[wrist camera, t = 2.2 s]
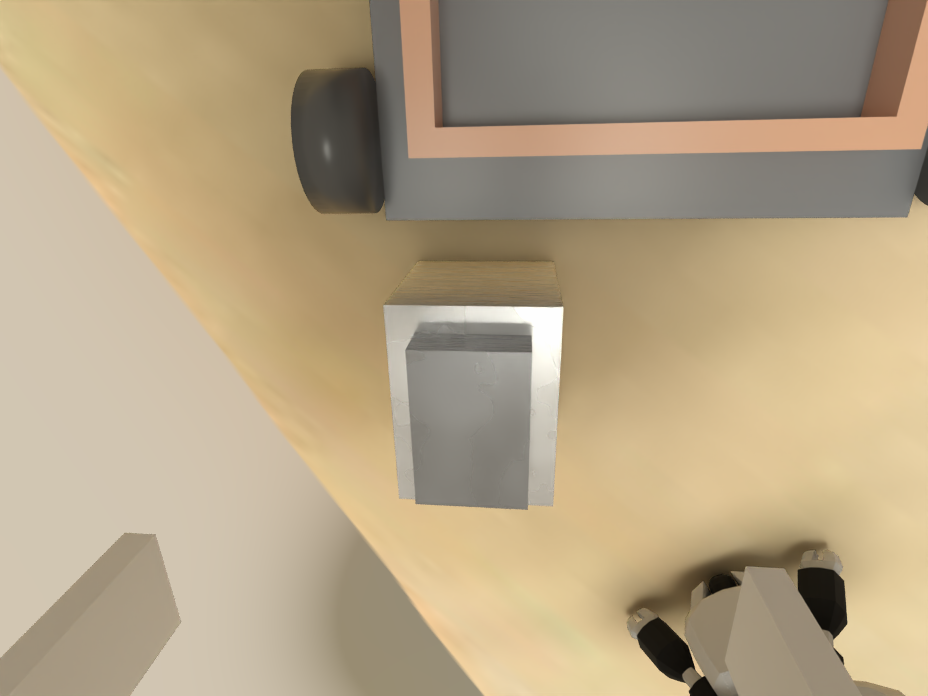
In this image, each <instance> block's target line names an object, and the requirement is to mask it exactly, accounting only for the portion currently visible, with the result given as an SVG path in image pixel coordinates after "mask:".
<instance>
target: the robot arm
mask: <svg viewBox="0 0 928 696" xmlns="http://www.w3.org/2000/svg"><path fill="white" fill-rule="evenodd" d="M180 623H181V620H180V616H179V613H178V610H177V607H176V603H175V599H174V596H173V593H172V589H171V586H170V582H169V579H168V576H167V572H166V569H165V565H164V562H163V558H162V555H161V552H160V548H159V545H158V542H157V538H156V535H155V534H137V533H124V534H123V535H122V536H121V537H120V538H119V539H118V540H117V541H116V542H115V543H114V544H113V545H112V546H111V547H110V548H109V549H108V550H107V551H106V552H105V553H104V554H103V555H102V556H101V557H100V558H99V559H98V560H97V561H96V562H95V563H94V564H93V565H92V567H90V569H88V570H87V571H86V572H85V573H84V574H83V575H82V576H81V577H80V578H79V579H78V580H77V581H76V583H74V584H73V585H72V587H71V588H70V589H69V590H68V591H67V592H66V593H65V594H64V595H63V596H62V597H61V598H60V599H59V600H58V601H57V602H56V603H55V604H54V605H53V606H52V607H51V608H50V609H49V610H48V611H47V612H46V613H45V614H44V615H43V616H42V617H41V618H40V619H39V620H38V621H37V622H36V623H35V624H34V625H33V626H32V627H31V628H30V629H29V630H28V631H27V632H26V633H25V634H24V635H23V636H22V637H21V638H20V639H19V640H18V641H17V642H16V643H15V644H14V645H13V646H12V647H11V648H10V649H9V650H8V651H7V652H6V653H5V654H4V655H3V656H2V657H1V658H0V696H130V695H131V693H132V692H133V691H134V689H135V688H136V686H137V685H138V683H139V682H140V680H141V679H142V678H143V676H144V675H145V673H146V672H147V670H148V669H149V667H150V666H151V664H152V663H153V662H154V660H155V659H156V657H157V656H158V655H159V653H160V652H161V650H162V649H163V647H164V646H165V645H166V643H167V642H168V640H169V639H170V637H171V636H172V635H173V633H174V632H175V630H176V628H177V627H178V626H179V624H180ZM725 663H726V665H727V668H728V670H729V673H730V676H731V678H732V681H733V683H734V686H735V688H736V691H737V693H738V696H862V694H861V693H860V691H859V690H858V688H857V686H856V685H855V683H854V681H853V680H852V678H851V676H850V675H849V673H848V672H847V670H846V668H845V667H844V665H843V663H842V662H841V660H840V658H839V657H838V655H837V654H836V652H835V650H834V649H833V647H832V645H831V644H830V642H829V641H828V639H827V637H826V636H825V634H824V632H823V631H822V629H821V627H820V626H819V624H818V623H817V621H816V619H815V618H814V616H813V614H812V613H811V611H810V609H809V608H808V606H807V605H806V603H805V601H804V600H803V598H802V596H801V595H800V593H799V591H798V590H797V588H796V587H795V585H794V583H793V582H792V580H791V578H790V577H789V575H788V573H787V572H786V570H785V569H784V568H767V567H749V566H746V567H745V572H744V576H743V581H742V585H741V590H740V594H739V599H738V603H737V608H736V612H735V616H734V621H733V625H732V630H731V634H730V639H729V643H728V648H727V652H726V657H725Z"/></svg>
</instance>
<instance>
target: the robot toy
mask: <svg viewBox="0 0 928 696" xmlns="http://www.w3.org/2000/svg"><path fill="white" fill-rule="evenodd" d="M822 551H823V560H818V554H817V553H816V550H808V551H805V552H804V553H803V556H802V559H801V562H800V566H799V567H800V568H801V569H799V570H798V591H799V593H800V595H801V596H802V598H803V600H804V601H805V603H806V605H807V606H808V608H809V609H810V611H811V613H812V614H813V616H814V618H815V619H816V621H817V623H818V624H819V626H820V627H821V629H822V631H823V632H824V634H825V636H826V637H827V639H828V641H829V642H830V644H831V645H832V647H833V640H834V639H835V638H836V637H837V636H838V635H839V634H840V632H841V631H842V630H843V629H844V627H845V626H846V625H847V612H846V598H845V586H844V580H843V579H842V578H841V577H840V576H839V575H840V573H841V571H842V568H843V566H842V563H841V561H840V558H839V556H838V555H836V554H835V553H834V552H832V551H830V550H822ZM730 572H731V573H732V575H733V577H734V579H735V580H736V582H737V584H738V585H739V586H737V585H736V583H735V581H734V580H733V579H732V577H731V576H728V575H724V574H721V575H717V576H715V577H713V578H712V579H711V580H710V582H709V587H710V591H711V592H710V591H709V589H708V588H707V586H706V584H705V583H704V581H702V582H701V583H700V584H699V585H698V586H697V587H696V588H695V589H694V590H693V591H692V594H691V608H690V612H689V614H688V615H687V617H686V619H685V637H686V640H687V642H688V644H689V646H690V648H691V651H692V653H693V655H694V657H695V659H696V661H697V663H698V665H699V666H700V668H701V670H702V672H703V674H704V675H705V676H704V677H701V676H700V675H699V674H698V673H697V672H696V670H695V666H694V663H693V660H692V657H691V654H690V650H689V647H688V645H687V644H686V643H685V642H684V641H683V640H682V639H681V638H680V637H679V636H678V635H677V634H676V633H675V632H674V631H673V630H672V629H671V628H670V627H669V626H668V625H667V624H666V623H665V622H664V621H663V620H661V619H660V618H659V617H658V615H657V614H655V613H654V612H652V611H651V610H649V609H647V608H642V609H639V610H638V611H637V613H638V615H639V617H640V618H642V620H641V621H640V622H639V623H637V622H636V620H635V619H634V618H633V615H632V616H631V617H630V618H629V619H628V621H627V628H628V630H629V632H630V634H631V636H632V637H633V638H635V639H637V640H638V642H639V645H640V648H641V649H642V650H643V651H644V652H645V654H646V655H647V656H648V657H649V658H650V660H651V661H652V662H653V663H654V664H655V666H656V667H657V668H658V669H659V670H660V671H661V672H662V673H664V674H665V675H666V676H667V677H669V678H671V679H674V680H677V681H680V682H684V683H686V684H687V685H688V686H689V687H690V688H691V689H690V690H689V693H690V696H738V693H737V691H736V688H735V686H734V683H733V681H732V678H731V676H730V673H729V670H728V668H727V665H726V663H725V657H726V652H727V648H728V643H729V639H730V634H731V630H732V625H733V621H734V616H735V612H736V608H737V603H738V599H739V594H740V590H741V585H742V581H743V576H744V572H737V571H730ZM711 593H712V594H711ZM833 649H834V650H835V652H836V654H837V655H838V657H839V658H840V660H841V662H842V663H843V665H844V660H843V657H842V656H841V655H840V654H839V653H838V652H837V650H836V649H835V648H834V647H833ZM854 683H855V685H856V686H857V688H858V690H859V691H860V693H861V694H862V696H905V695H904V694H902V693H901V692H900V691H898V690H894V689H891V688H887V687H883V686H880V685H876V684H872V683H869V682H864V681H854Z"/></svg>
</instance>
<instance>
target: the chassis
mask: <svg viewBox="0 0 928 696" xmlns="http://www.w3.org/2000/svg"><path fill="white" fill-rule="evenodd" d="M369 2H370V15H371V28H372V41H373V54H374V67H375V80H376V82H375V80H374V78H373V76H372V74H371V73H370V71H369V70H368V69H366V68H341V69H313V70H305V71H303V72H302V73H301V74H300V76H299V77H298V79H297V82H296V84H295V88H294V92H293V97H292V106H291V132H292V143H293V151H294V157H295V162H296V167H297V171H298V174H299V178H300V181H301V184H302V187H303V189H304V192H305V194H306V196H307V198H308V200H309V201H310V203H311V205H312V206H313V207H314V208H315V209H316V210H317V211H318V212H320V213H323V214H354V213H377V212H379V211H380V209H381V207H382V205H383V202H384V199H385V211H386V220H532V219H702V218H872V217H908V213H909V210H910V206H911V203H912V199H913V196H914V194H915V195H916V196H917V198H918V199H919V200H920V201H922V202H923V203H924V204H926V205H928V0H369Z"/></svg>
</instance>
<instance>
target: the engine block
mask: <svg viewBox="0 0 928 696" xmlns="http://www.w3.org/2000/svg"><path fill="white" fill-rule="evenodd" d="M383 308H384V320H385V332H386V344H387V356H388V368H389V380H390V392H391V404H392V416H393V428H394V440H395V452H396V464H397V476H398V488H399V498H400V499H415V500H416V504H427V505H447V506H466V507H486V508H505V509H525V510H528V505H539V506H553V497H554V478H555V459H556V440H557V421H558V402H559V383H560V364H561V345H562V325H563V303H562V298H561V294H560V289H559V284H558V280H557V275H556V271H555V266H554V262H553V261H418V262H417V263H416V264H415V266H414V267H413V268H412V269H411V271H410V272H409V273H408V274H407V276H406V277H405V278H404V280H403V281H402V282H401V283H400V285H399V286H398V287H397V288H396V290H395V291H394V292H393V293H392V295H391V296H390V297H389V299H388V300H387V301H386V302H385V304H384V305H383Z"/></svg>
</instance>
